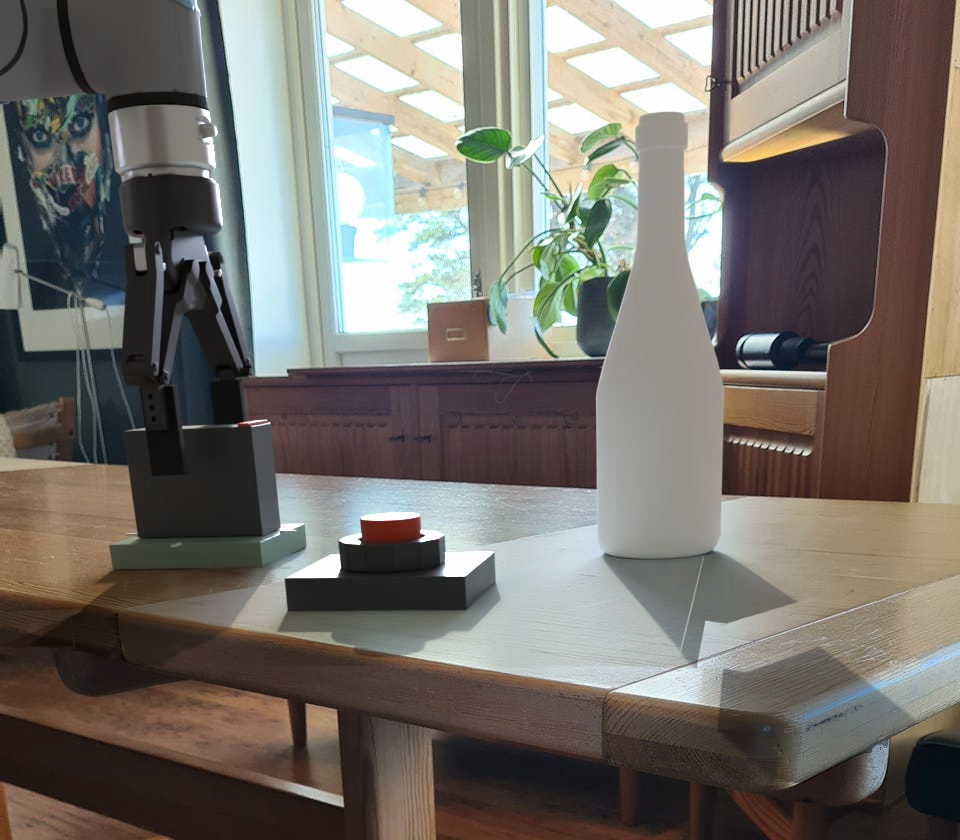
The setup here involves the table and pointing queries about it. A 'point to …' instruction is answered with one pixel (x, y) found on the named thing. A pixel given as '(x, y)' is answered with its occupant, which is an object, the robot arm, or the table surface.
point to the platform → (207, 550)
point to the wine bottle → (660, 380)
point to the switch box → (392, 577)
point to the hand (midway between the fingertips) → (204, 467)
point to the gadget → (208, 484)
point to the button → (390, 527)
